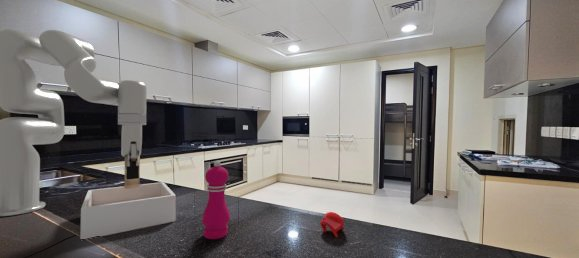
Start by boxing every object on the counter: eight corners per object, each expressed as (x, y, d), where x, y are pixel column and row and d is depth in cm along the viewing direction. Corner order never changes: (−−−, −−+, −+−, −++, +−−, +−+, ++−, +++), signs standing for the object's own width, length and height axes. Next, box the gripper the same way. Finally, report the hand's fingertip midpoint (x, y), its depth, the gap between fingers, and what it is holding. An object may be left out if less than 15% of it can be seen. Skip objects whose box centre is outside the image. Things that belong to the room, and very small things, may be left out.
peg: (124, 187, 75) (124, 149, 75) (139, 185, 77) (139, 149, 77) (124, 189, 72) (124, 150, 72) (140, 187, 74) (140, 149, 74)
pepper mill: (221, 241, 59) (223, 163, 60) (196, 238, 61) (197, 162, 61) (234, 230, 67) (235, 159, 67) (210, 227, 68) (212, 158, 68)
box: (87, 214, 76) (88, 190, 76) (163, 202, 90) (163, 182, 90) (80, 240, 59) (81, 208, 59) (175, 221, 72) (175, 195, 72)
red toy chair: (335, 230, 60) (348, 214, 63) (317, 216, 64) (330, 202, 67) (336, 245, 65) (348, 230, 68) (319, 232, 68) (332, 218, 71)
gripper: (117, 120, 79) (117, 175, 79) (118, 118, 66) (118, 184, 65) (143, 121, 83) (143, 172, 83) (149, 119, 70) (149, 180, 70)
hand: (132, 177), depth 74 cm, fingers closed on peg, 4 cm apart
